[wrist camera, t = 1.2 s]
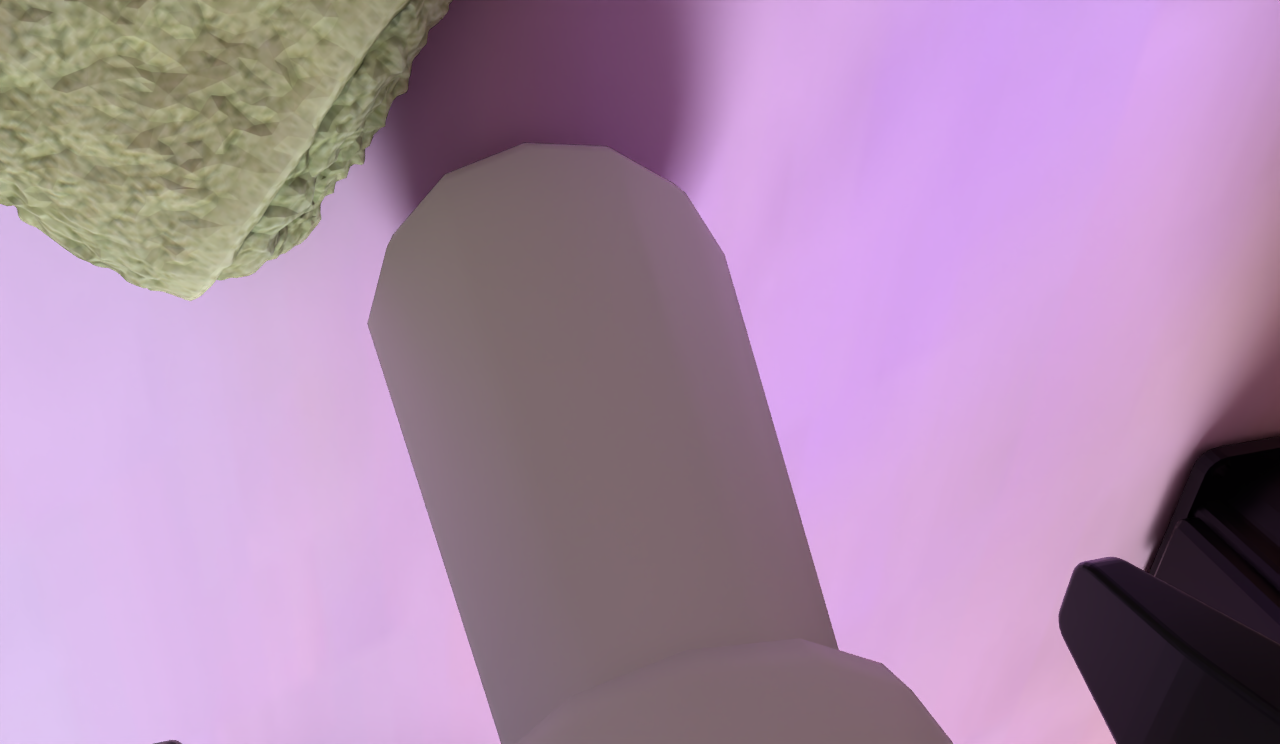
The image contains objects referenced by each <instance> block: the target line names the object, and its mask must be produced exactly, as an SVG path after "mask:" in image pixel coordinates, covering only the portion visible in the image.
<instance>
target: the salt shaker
mask: <svg viewBox="0 0 1280 744" xmlns="http://www.w3.org/2000/svg"><path fill="white" fill-rule="evenodd" d="M367 324H368V327H369V330H370V333H371V336H372V339H373V342H374V346H375V349H376V352H377V355H378V358H379V361H380V364H381V368H382V371H383V374H384V377H385V380H386V383H387V386H388V390H389V393H390V396H391V399H392V402H393V405H394V408H395V412H396V415H397V418H398V421H399V424H400V427H401V430H402V433H403V437H404V440H405V443H406V446H407V449H408V452H409V455H410V459H411V462H412V465H413V468H414V471H415V474H416V477H417V481H418V484H419V487H420V490H421V493H422V496H423V499H424V503H425V506H426V509H427V512H428V515H429V518H430V521H431V525H432V528H433V531H434V534H435V537H436V540H437V543H438V547H439V550H440V553H441V556H442V559H443V562H444V565H445V569H446V572H447V575H448V578H449V581H450V584H451V587H452V591H453V594H454V597H455V600H456V603H457V606H458V609H459V613H460V616H461V619H462V622H463V625H464V628H465V631H466V635H467V638H468V641H469V644H470V647H471V650H472V653H473V656H474V660H475V663H476V666H477V669H478V672H479V675H480V678H481V682H482V685H483V688H484V691H485V694H486V697H487V700H488V704H489V707H490V710H491V713H492V716H493V719H494V722H495V726H496V729H497V732H498V735H499V738H500V741H501V744H953V743H952V741H951V740H950V739H949V737H948V736H947V735H946V733H945V732H944V731H943V730H942V728H941V727H940V726H939V725H938V723H937V722H936V721H935V719H934V718H933V717H932V716H931V714H930V713H929V712H928V711H927V709H926V708H925V707H924V705H923V704H922V703H921V702H920V700H919V699H918V698H917V696H916V695H915V694H914V693H913V691H912V690H911V689H910V688H909V687H907V686H906V685H905V684H904V683H903V682H902V681H901V680H900V679H899V678H898V677H896V676H895V675H894V674H893V673H892V672H891V671H890V670H889V669H888V668H887V667H885V666H884V665H883V664H882V663H879V662H876V661H872V660H869V659H866V658H862V657H859V656H856V655H853V654H849V653H846V652H843V651H840V650H839V649H838V646H837V642H836V639H835V635H834V632H833V629H832V625H831V622H830V618H829V615H828V611H827V608H826V604H825V601H824V597H823V594H822V590H821V587H820V583H819V580H818V577H817V573H816V570H815V566H814V563H813V559H812V556H811V552H810V549H809V545H808V542H807V538H806V535H805V532H804V528H803V525H802V521H801V518H800V514H799V511H798V507H797V504H796V500H795V497H794V493H793V490H792V487H791V483H790V480H789V476H788V473H787V469H786V466H785V462H784V459H783V455H782V452H781V448H780V445H779V442H778V438H777V435H776V431H775V428H774V424H773V421H772V417H771V414H770V410H769V407H768V403H767V400H766V397H765V393H764V390H763V386H762V383H761V379H760V376H759V372H758V369H757V365H756V362H755V358H754V355H753V351H752V348H751V345H750V341H749V338H748V334H747V331H746V327H745V324H744V320H743V317H742V313H741V310H740V306H739V303H738V300H737V296H736V293H735V289H734V286H733V282H732V279H731V275H730V272H729V268H728V265H727V261H726V258H725V255H724V253H723V251H722V250H721V248H720V247H719V245H718V243H717V242H716V240H715V239H714V237H713V236H712V234H711V232H710V231H709V229H708V228H707V226H706V224H705V223H704V221H703V220H702V218H701V217H700V215H699V213H698V212H697V210H696V209H695V207H694V205H693V204H692V202H691V201H690V199H689V198H688V196H687V194H686V193H685V192H684V191H682V190H681V189H680V188H679V187H677V186H676V185H675V184H673V183H672V182H670V181H668V180H666V179H665V178H663V177H661V176H659V175H657V174H656V173H654V172H652V171H650V170H649V169H647V168H645V167H643V166H641V165H640V164H638V163H636V162H634V161H632V160H631V159H629V158H627V157H625V156H624V155H622V154H620V153H618V152H616V151H615V150H613V149H611V148H609V147H608V146H591V145H568V144H544V143H523V144H520V145H517V146H515V147H512V148H510V149H507V150H505V151H502V152H500V153H497V154H495V155H492V156H490V157H487V158H485V159H482V160H480V161H477V162H475V163H472V164H470V165H467V166H465V167H462V168H460V169H457V170H455V171H452V172H450V173H447V174H445V175H444V176H443V177H442V178H441V179H440V180H439V182H438V183H437V184H436V185H435V186H434V187H433V189H432V190H431V191H430V192H429V193H428V194H427V196H426V197H425V198H424V199H423V200H422V201H421V203H420V204H419V205H418V206H417V207H416V208H415V210H414V211H413V212H412V213H411V214H410V215H409V217H408V218H407V219H406V220H405V221H404V223H403V224H402V225H401V226H400V227H399V228H398V230H397V231H396V232H395V233H394V234H393V236H392V238H391V240H390V242H389V244H388V246H387V249H386V253H385V256H384V260H383V264H382V268H381V272H380V276H379V280H378V284H377V288H376V292H375V296H374V300H373V304H372V307H371V311H370V315H369V319H368V323H367Z"/></svg>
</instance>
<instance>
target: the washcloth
mask: <svg viewBox="0 0 1280 744" xmlns="http://www.w3.org/2000/svg"><path fill="white" fill-rule="evenodd" d="M452 1H453V0H0V204H3V205H6V206H12V205H14V206H15V207H16V208H17V210H18V216H19V218H20V220H22V221H24V222H25V223H27V224H29V225H31V226H34V227H37V228H38V229H39V230H41V231H42V232H43V233H45V234H46V235H47V236H49V237H50V238H51V239H53V240H54V241H55V242H57V243H58V244H59V245H61V246H62V247H63V248H65V249H66V250H67V251H69V252H70V253H72V254H73V255H75V256H76V257H78V258H80V259H82V260H85V261H87V262H90V263H91V264H93V265H95V266H99V267H104V268H110V269H112V270H114V271H116V272H117V273H119V274H120V275H121V276H122V277H123V278H124V279H125V280H126V281H127V282H129V283H131V284H134V285H136V286H139V287H142V288H148V289H149V290H153V291H163V292H166V293H169V294H172V295H175V296H177V297H180V298H183V299H185V300H189V301H191V300H194V299H196V298H198V297H200V296H201V295H202V294H203V293H204V292H205V291H207V290H208V289H209V288H210V287H211V286H212V285H213V283H214V282H215V281H216V280H225V279H227V278H238V277H243V276H248V275H251V274H253V273H255V272H256V271H257V270H258V269H259V268H260V267H261V266H262V265H263V264H264V263H265V262H266V261H268V260H272V259H276V258H277V257H278V256H279V255H280V254H283V253H286V252H288V251H289V250H290V249H292V248H293V247H294V246H296V245H299V244H301V243H302V242H303V241H304V240H305V239H306V238H307V237H308V236H309V234H310V233H311V232H312V231H313V229H314V228H315V227H316V226H317V225H318V223H319V222H320V220H321V214H320V204H321V202H322V200H323V198H324V197H325V196H326V195H329V194H332V193H334V188H335V183H336V181H339V180H341V179H344V178H347V175H348V171H349V168H350V166H352V165H353V164H359V165H362V164H364V161H365V148H367V147H368V146H370V143H371V140H372V138H373V135H374V134H375V133H376V132H377V131H378V130H379V129H380V128H382V127H385V121H386V118H387V115H388V112H389V109H390V106H391V104H392V102H393V100H394V99H395V98H396V97H397V96H399V95H402V94H404V93H406V92H407V90H408V82H409V77H410V74H411V68H412V62H413V60H414V58H415V57H416V56H417V55H418V54H419V53H420V50H421V49H422V48H423V47H424V46H425V45H426V44H427V37H428V32H429V30H430V29H431V28H432V27H434V26H435V25H436V24H438V23H439V21H440V20H441V19H443V18H444V16H445V15H446V14H447V12H448V10H449V4H450V3H451V2H452Z"/></svg>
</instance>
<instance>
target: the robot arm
mask: <svg viewBox="0 0 1280 744" xmlns="http://www.w3.org/2000/svg"><path fill="white" fill-rule="evenodd" d="M1059 627H1060V630H1061V634H1062V636H1063V639H1064V641H1065V643H1066V645H1067V647H1068V649H1069V651H1070V653H1071V655H1072V657H1073V659H1074V661H1075V663H1076V664H1077V666H1078V668H1079V670H1080V672H1081V674H1082V676H1083V678H1084V680H1085V682H1086V684H1087V686H1088V688H1089V690H1090V692H1091V694H1092V696H1093V698H1094V700H1095V702H1096V704H1097V706H1098V708H1099V710H1100V712H1101V714H1102V716H1103V718H1104V720H1105V722H1106V724H1107V726H1108V728H1109V730H1110V732H1111V734H1112V736H1113V738H1114V740H1115V742H1116V744H1280V436H1279V437H1273V438H1267V439H1262V440H1256V441H1251V442H1245V443H1239V444H1234V445H1228V446H1223V447H1217V448H1214V449H1211V450H1209V451H1207V452H1206V453H1204V454H1203V455H1202V456H1201V457H1200V458H1199V459H1198V460H1197V461H1196V463H1195V464H1194V466H1193V469H1192V471H1191V474H1190V476H1189V478H1188V481H1187V483H1186V486H1185V488H1184V490H1183V493H1182V495H1181V498H1180V500H1179V502H1178V505H1177V507H1176V510H1175V512H1174V514H1173V517H1172V519H1171V522H1170V524H1169V526H1168V529H1167V531H1166V534H1165V536H1164V538H1163V541H1162V543H1161V546H1160V548H1159V550H1158V553H1157V555H1156V558H1155V560H1154V562H1153V565H1152V567H1151V570H1150V572H1149V573H1147V572H1145V571H1144V570H1142V569H1140V568H1138V567H1136V566H1134V565H1132V564H1131V563H1129V562H1127V561H1125V560H1122V559H1120V558H1116V557H1105V558H1100V559H1095V560H1090V561H1085V562H1082V563H1080V564H1078V565H1077V566H1076V567H1075V569H1074V571H1073V573H1072V576H1071V579H1070V582H1069V585H1068V587H1067V590H1066V593H1065V596H1064V599H1063V602H1062V605H1061V608H1060V611H1059ZM154 744H182V743H180V742H178V741H176V740H169V741H164V742H159V743H154Z"/></svg>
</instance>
